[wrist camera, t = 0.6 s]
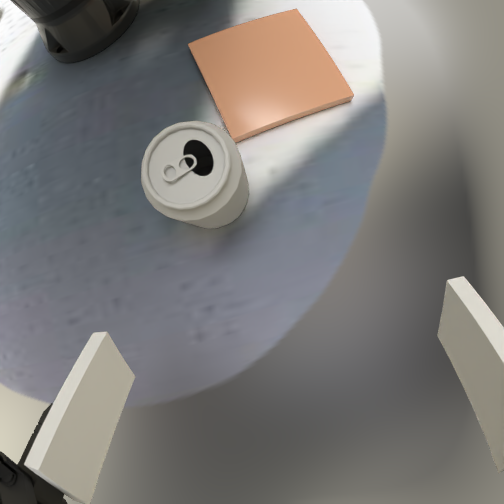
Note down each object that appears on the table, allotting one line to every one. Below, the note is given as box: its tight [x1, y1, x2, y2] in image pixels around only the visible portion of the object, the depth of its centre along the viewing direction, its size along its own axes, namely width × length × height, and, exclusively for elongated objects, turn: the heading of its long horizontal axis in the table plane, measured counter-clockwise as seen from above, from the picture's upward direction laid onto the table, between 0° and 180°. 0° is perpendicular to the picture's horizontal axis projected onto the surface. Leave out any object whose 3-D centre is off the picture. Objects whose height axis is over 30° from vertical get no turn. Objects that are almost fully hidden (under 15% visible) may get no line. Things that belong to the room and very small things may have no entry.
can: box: [141, 121, 249, 229], centre depth 26 cm, size 8×8×12 cm
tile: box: [188, 9, 354, 143], centre depth 31 cm, size 14×14×2 cm
